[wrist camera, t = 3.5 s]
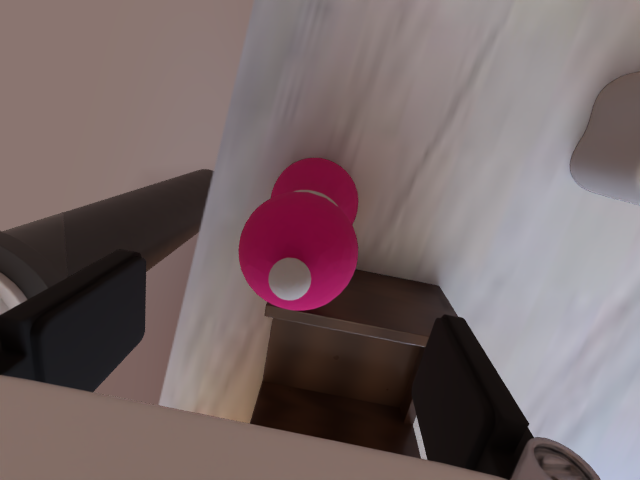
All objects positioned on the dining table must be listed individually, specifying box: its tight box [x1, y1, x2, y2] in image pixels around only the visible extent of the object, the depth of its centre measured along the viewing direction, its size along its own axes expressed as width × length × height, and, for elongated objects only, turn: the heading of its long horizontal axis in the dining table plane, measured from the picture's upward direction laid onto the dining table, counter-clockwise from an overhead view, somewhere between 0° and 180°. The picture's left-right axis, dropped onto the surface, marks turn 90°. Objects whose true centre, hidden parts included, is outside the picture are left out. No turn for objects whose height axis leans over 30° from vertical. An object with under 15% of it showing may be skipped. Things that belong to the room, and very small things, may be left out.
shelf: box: [250, 270, 458, 459], centre depth 34 cm, size 16×28×10 cm, turn 169°
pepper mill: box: [239, 158, 358, 311], centre depth 23 cm, size 7×7×20 cm
